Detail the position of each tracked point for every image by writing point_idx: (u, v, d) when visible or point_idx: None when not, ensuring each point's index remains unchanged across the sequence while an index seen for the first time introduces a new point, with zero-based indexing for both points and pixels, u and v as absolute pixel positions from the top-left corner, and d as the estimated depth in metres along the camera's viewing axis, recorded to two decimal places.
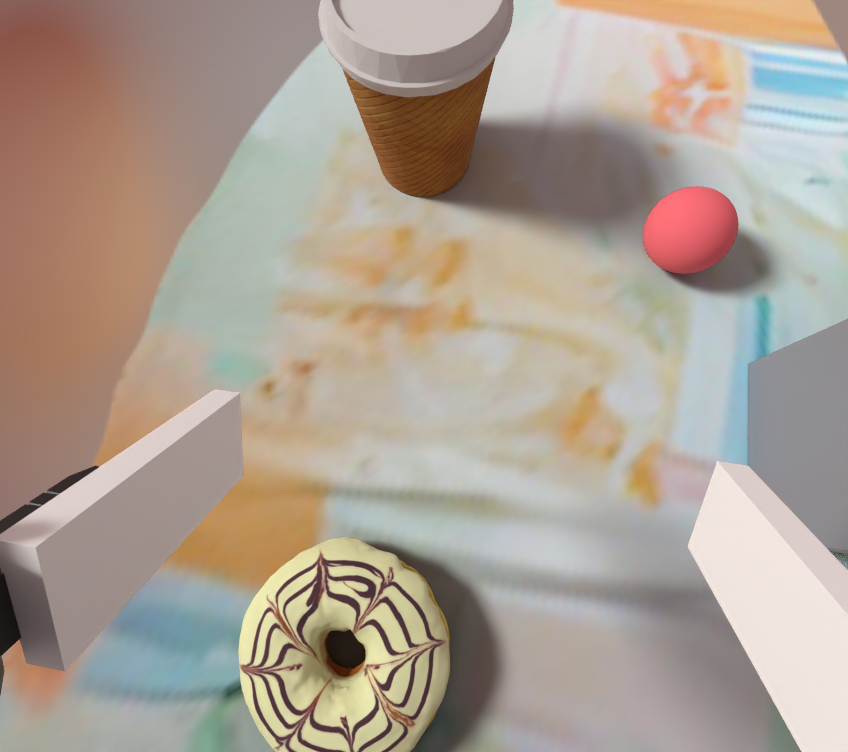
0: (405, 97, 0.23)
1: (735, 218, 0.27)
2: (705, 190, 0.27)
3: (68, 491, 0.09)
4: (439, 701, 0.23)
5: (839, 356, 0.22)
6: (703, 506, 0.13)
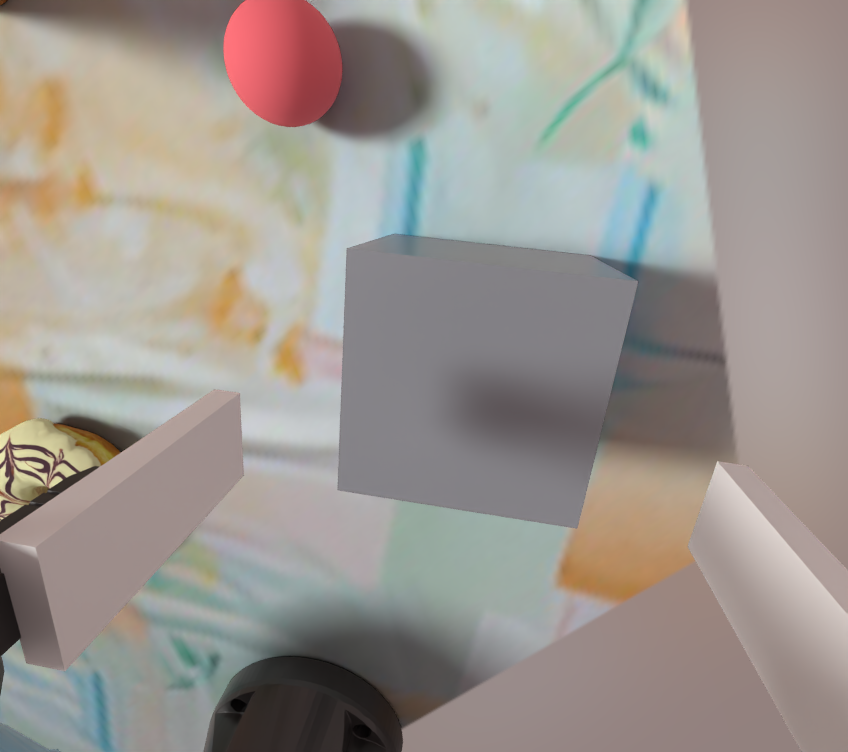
0: None
1: (306, 56, 0.19)
2: (260, 10, 0.19)
3: (67, 491, 0.09)
4: None
5: None
6: (703, 506, 0.13)
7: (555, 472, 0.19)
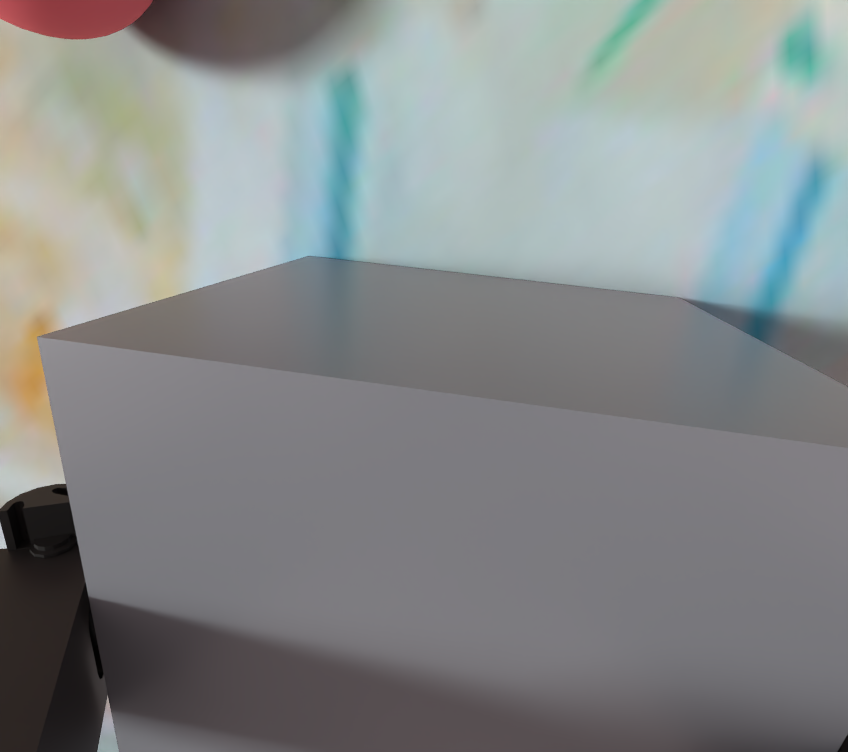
0: None
1: None
2: None
3: None
4: None
5: None
6: None
7: None
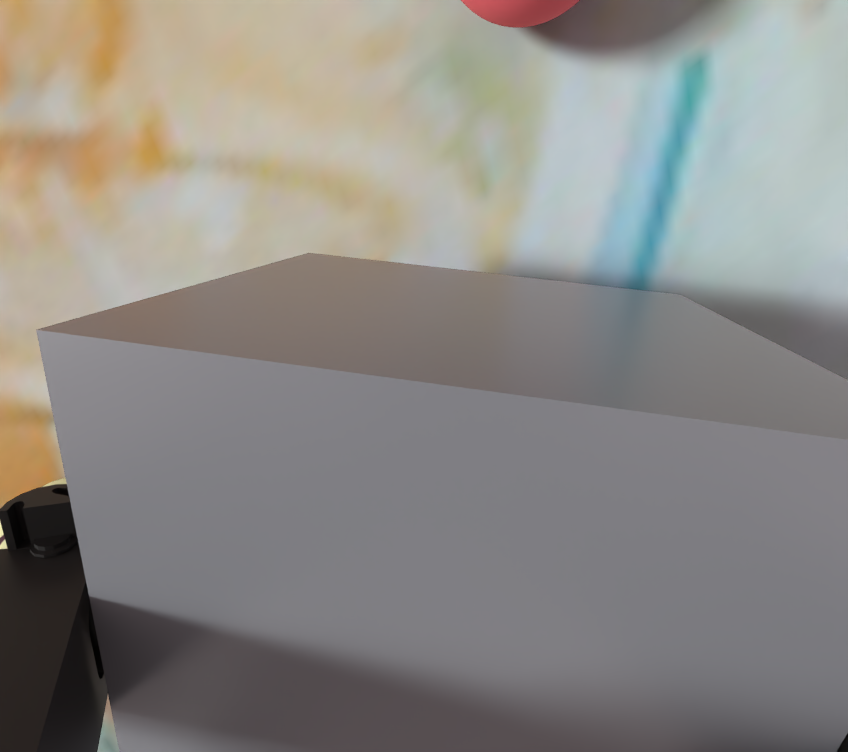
0: None
1: None
2: None
3: None
4: None
5: None
6: None
7: None
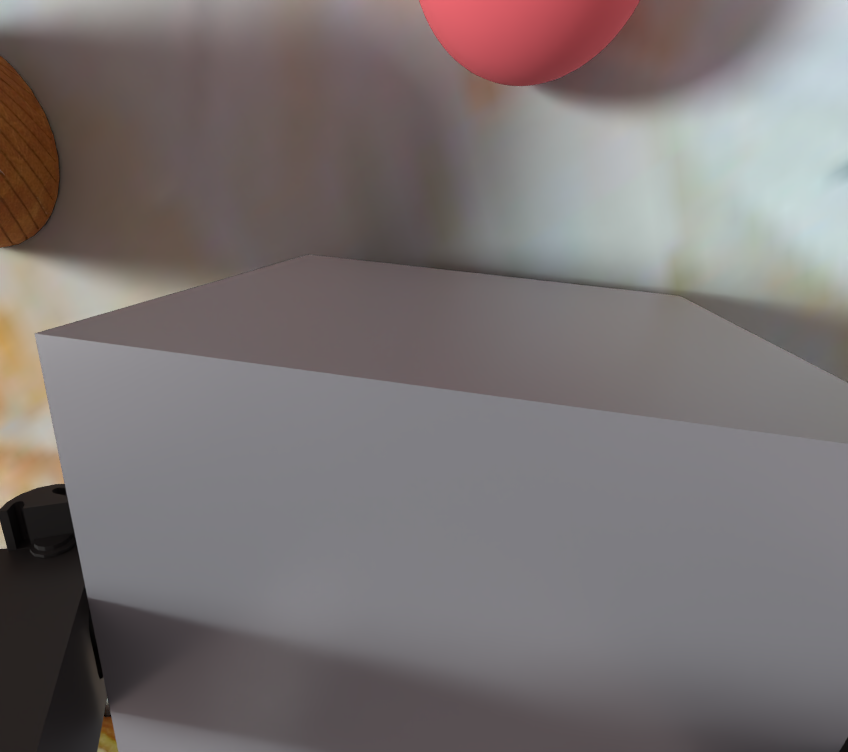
0: None
1: None
2: None
3: None
4: None
5: None
6: None
7: None
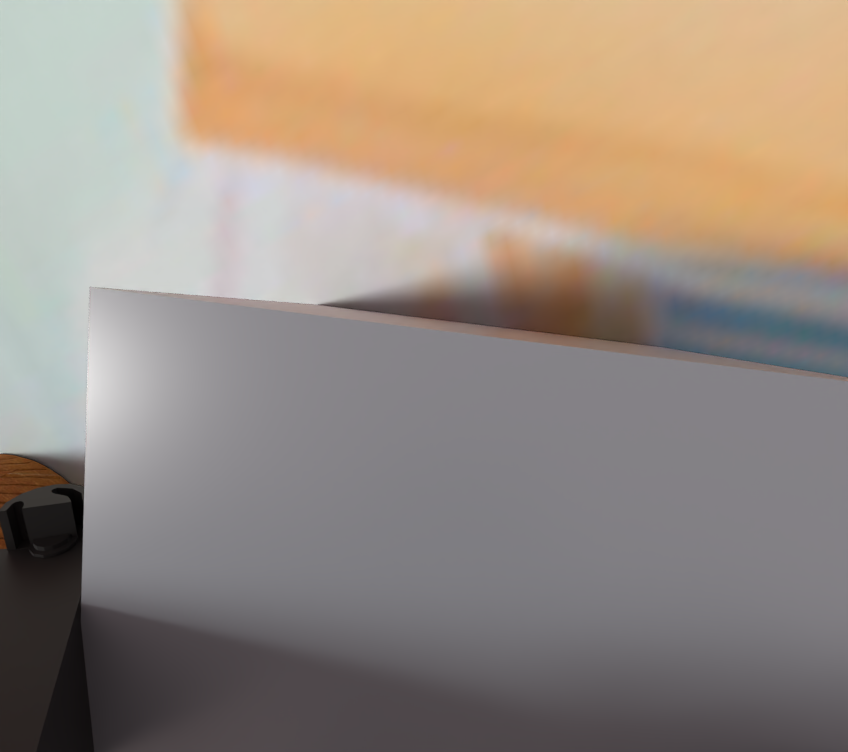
0: None
1: None
2: None
3: None
4: None
5: None
6: None
7: None
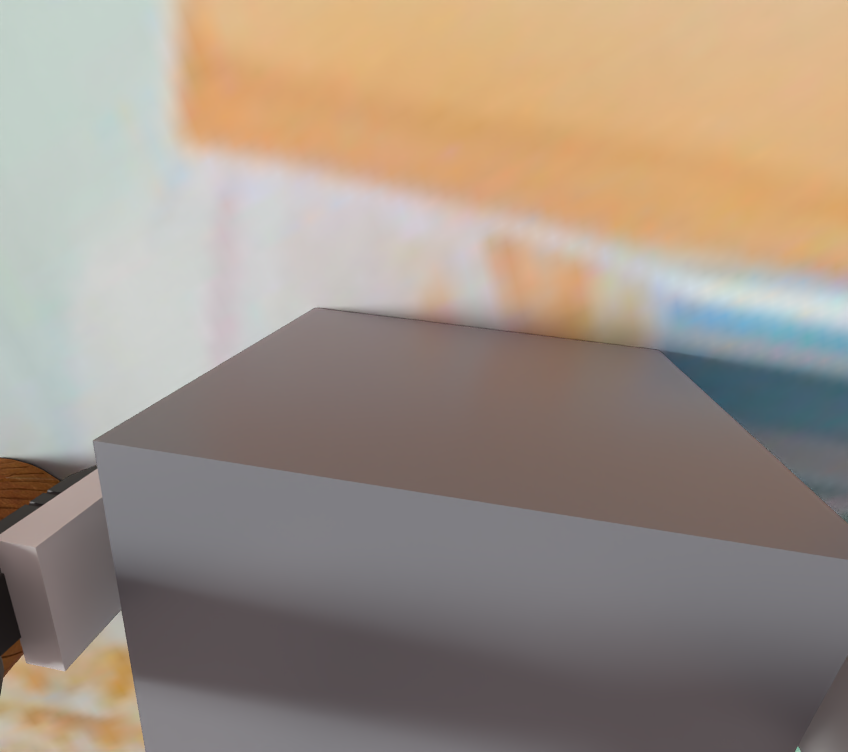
0: None
1: None
2: None
3: (67, 491, 0.09)
4: None
5: None
6: None
7: None
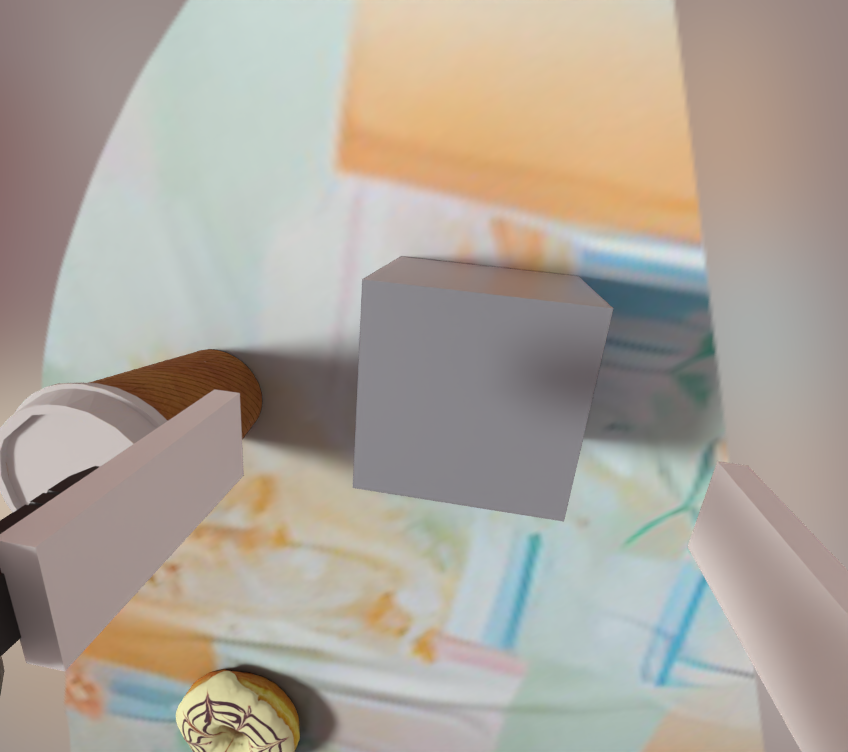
0: None
1: None
2: None
3: (68, 491, 0.09)
4: None
5: None
6: (703, 506, 0.13)
7: (544, 472, 0.22)
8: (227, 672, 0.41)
